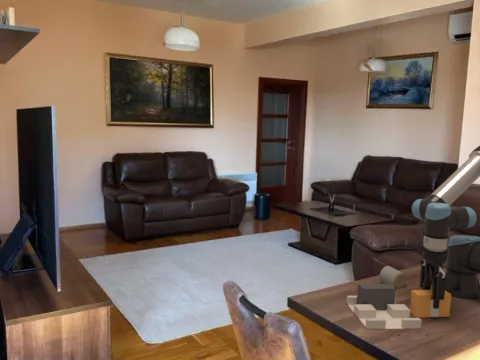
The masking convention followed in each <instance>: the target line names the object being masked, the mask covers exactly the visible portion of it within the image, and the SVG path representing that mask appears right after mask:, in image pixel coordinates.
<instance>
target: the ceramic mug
mask: <svg viewBox="0 0 480 360" xmlns="http://www.w3.org/2000/svg"><path fill="white" fill-rule="evenodd" d="M406 280H407V279H406V275H405V274H404V273H403V272H402V271H400V270H397V269H395V268H394V267H392V266H389V265H386V266H384V267H383V268H382V269H381V270H380V272H379V281H380V284H391V285H392V286H393V287H394V288H396V289H400V288H403V287H404V286H406V285H407V282H406Z"/></svg>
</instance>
